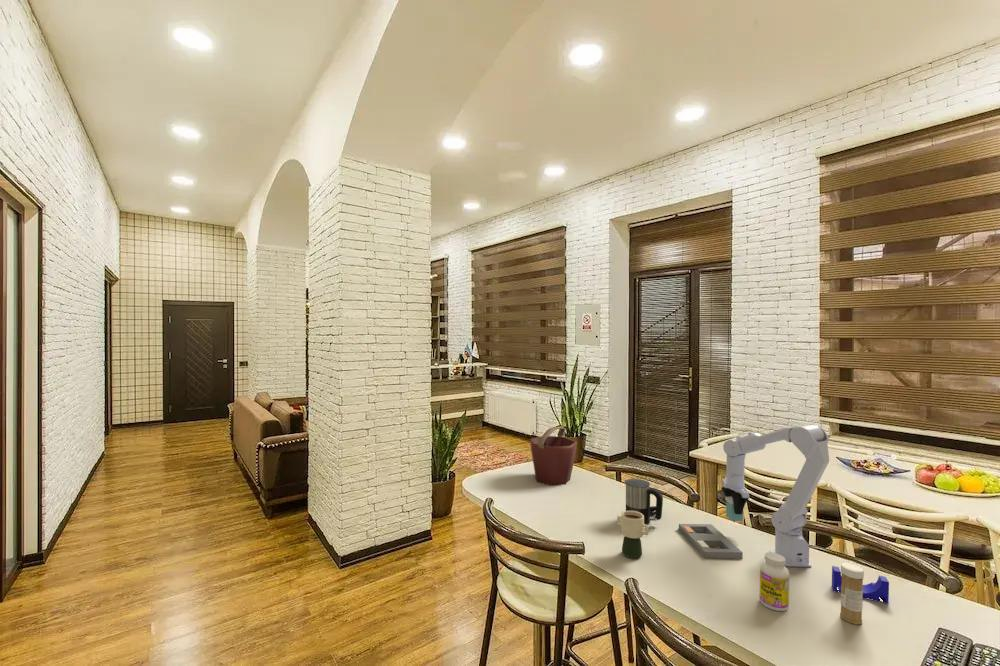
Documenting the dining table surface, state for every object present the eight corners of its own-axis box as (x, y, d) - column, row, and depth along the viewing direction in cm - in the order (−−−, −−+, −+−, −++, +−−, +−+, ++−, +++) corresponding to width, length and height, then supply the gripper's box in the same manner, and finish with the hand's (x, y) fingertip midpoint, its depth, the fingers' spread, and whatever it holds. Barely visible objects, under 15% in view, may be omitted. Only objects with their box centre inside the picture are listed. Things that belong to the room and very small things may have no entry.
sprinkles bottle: (841, 611, 118) (842, 560, 118) (863, 619, 115) (864, 566, 115) (838, 619, 115) (839, 566, 115) (861, 628, 112) (862, 573, 112)
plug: (744, 521, 160) (744, 501, 159) (731, 521, 160) (731, 501, 159) (737, 515, 164) (737, 496, 164) (724, 515, 164) (725, 496, 164)
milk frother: (624, 524, 170) (625, 485, 170) (623, 508, 185) (624, 472, 185) (664, 529, 166) (665, 488, 166) (660, 512, 182) (660, 475, 182)
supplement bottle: (755, 603, 121) (756, 555, 121) (764, 594, 125) (765, 548, 125) (783, 615, 116) (784, 565, 116) (792, 606, 120) (793, 557, 120)
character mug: (653, 557, 145) (653, 516, 145) (642, 565, 140) (643, 523, 140) (622, 545, 153) (623, 507, 153) (611, 552, 148) (611, 512, 148)
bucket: (554, 469, 236) (555, 421, 236) (587, 480, 219) (588, 428, 219) (519, 478, 220) (520, 427, 220) (552, 491, 203) (553, 435, 203)
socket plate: (742, 558, 145) (742, 551, 145) (705, 558, 145) (705, 550, 145) (711, 529, 166) (711, 523, 166) (678, 529, 166) (678, 523, 166)
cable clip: (883, 595, 126) (883, 574, 126) (888, 604, 122) (889, 582, 122) (830, 584, 132) (831, 563, 132) (833, 591, 128) (834, 570, 127)
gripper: (714, 466, 169) (713, 503, 169) (734, 479, 154) (734, 519, 155) (733, 466, 169) (732, 503, 169) (755, 479, 155) (754, 519, 155)
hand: (734, 511), depth 162 cm, fingers closed on plug, 4 cm apart
